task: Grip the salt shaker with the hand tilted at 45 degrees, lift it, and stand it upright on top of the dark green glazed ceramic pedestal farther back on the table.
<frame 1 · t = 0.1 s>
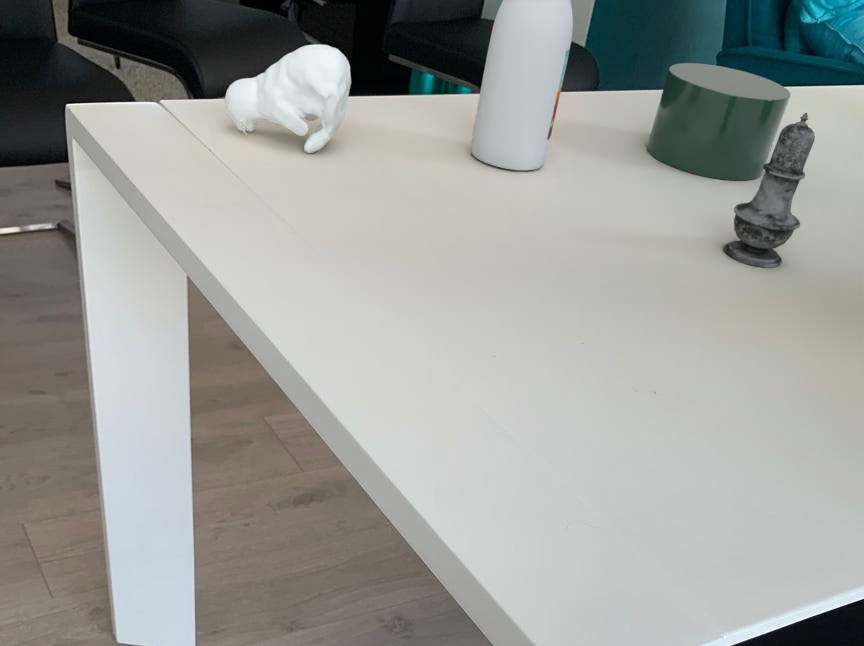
pedestal: (704, 159, 113), on the table
milk bottle: (506, 161, 104), on the table
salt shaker: (751, 257, 93), on the table
white figurine: (283, 141, 99), on the table
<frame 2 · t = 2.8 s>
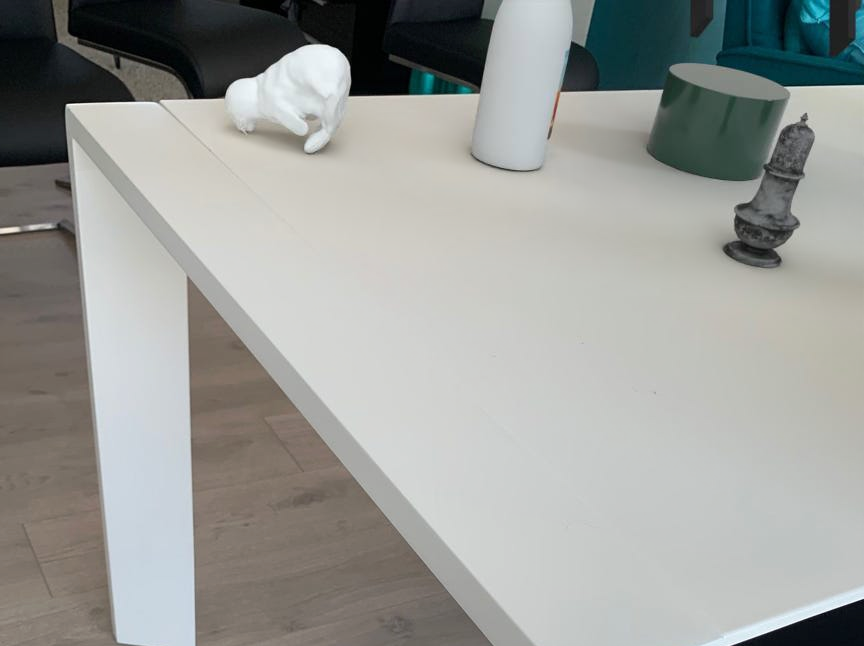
hand: (772, 38, 90), 15 cm above the table, tool tilted 45°, fingers open, 13 cm apart
nothing on the table moved.
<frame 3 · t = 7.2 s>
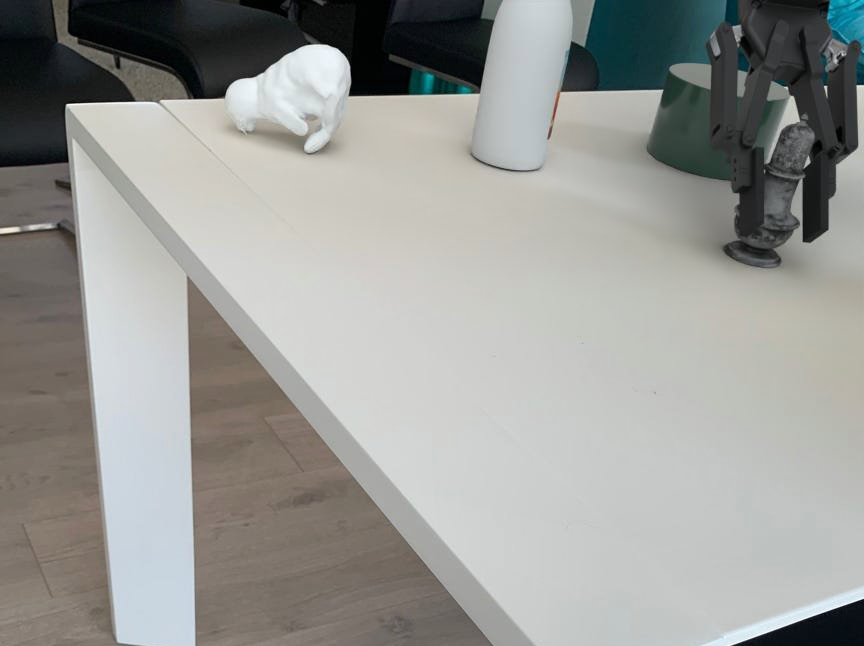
hand: (783, 232, 87), 4 cm above the table, tool tilted 45°, fingers closed on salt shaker, 5 cm apart
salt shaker: (751, 257, 93), on the table, touching gripper
everything else where it was.
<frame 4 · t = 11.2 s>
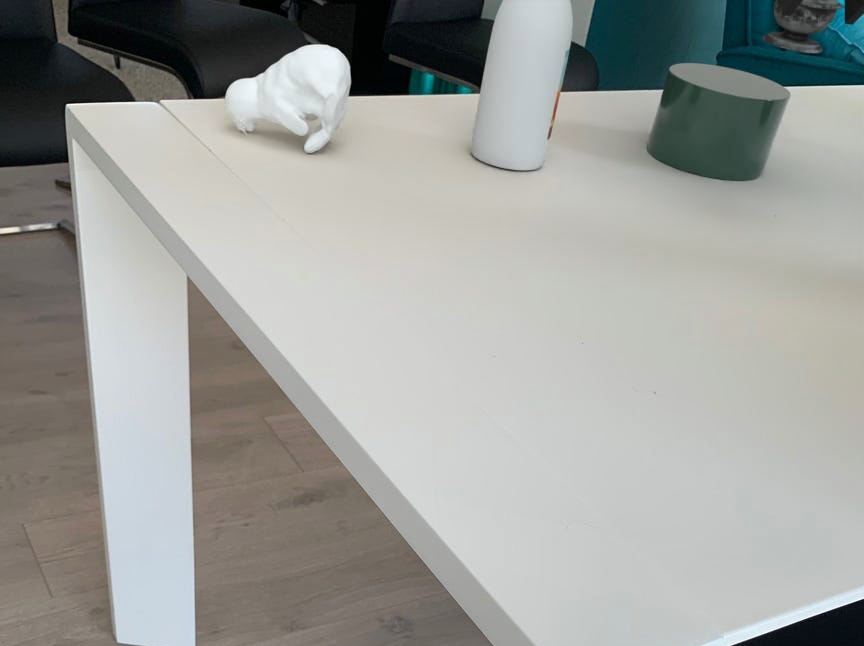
hand: (826, 9, 86), 18 cm above the table, tool tilted 45°, fingers closed on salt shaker, 5 cm apart
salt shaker: (791, 47, 91), point 15 cm above the table, touching gripper
everything else where it was.
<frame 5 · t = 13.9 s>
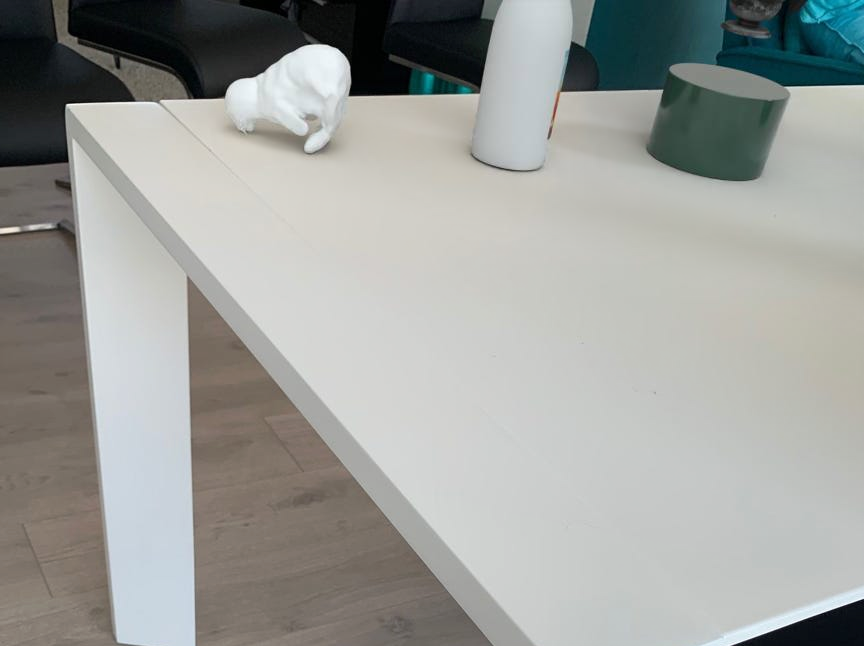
hand: (772, 0, 100), 16 cm above the table, tool tilted 45°, fingers closed on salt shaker, 5 cm apart
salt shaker: (744, 33, 105), point 12 cm above the table, touching gripper
everything else where it was.
when the fingers open (12 cm above the table, at t = 15.5 s): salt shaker stays where it is, resting on pedestal.
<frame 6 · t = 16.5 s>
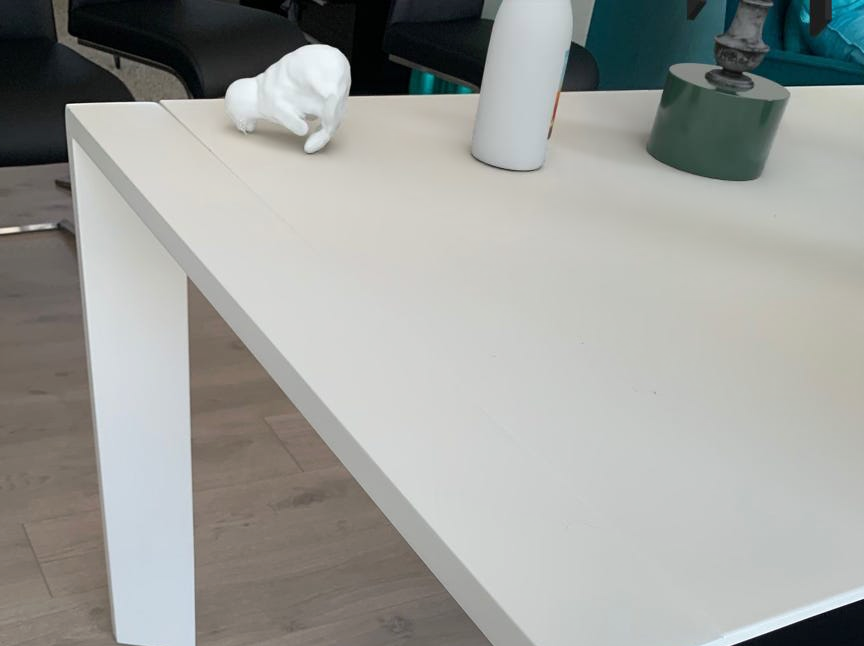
hand: (759, 20, 103), 14 cm above the table, tool tilted 45°, fingers open, 13 cm apart
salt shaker: (728, 82, 108), point 8 cm above the table, touching pedestal
everything else where it was.
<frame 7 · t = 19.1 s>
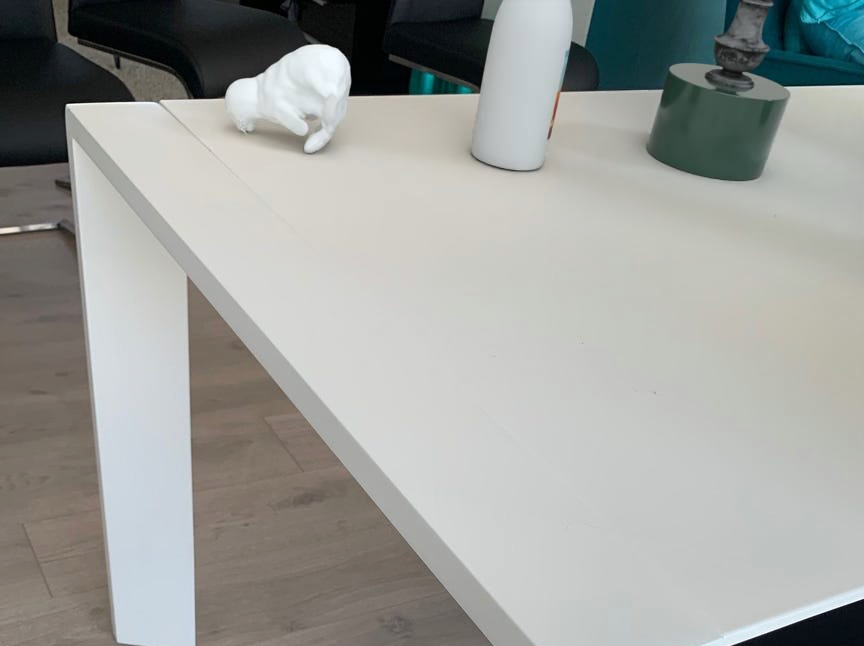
nothing on the table moved.
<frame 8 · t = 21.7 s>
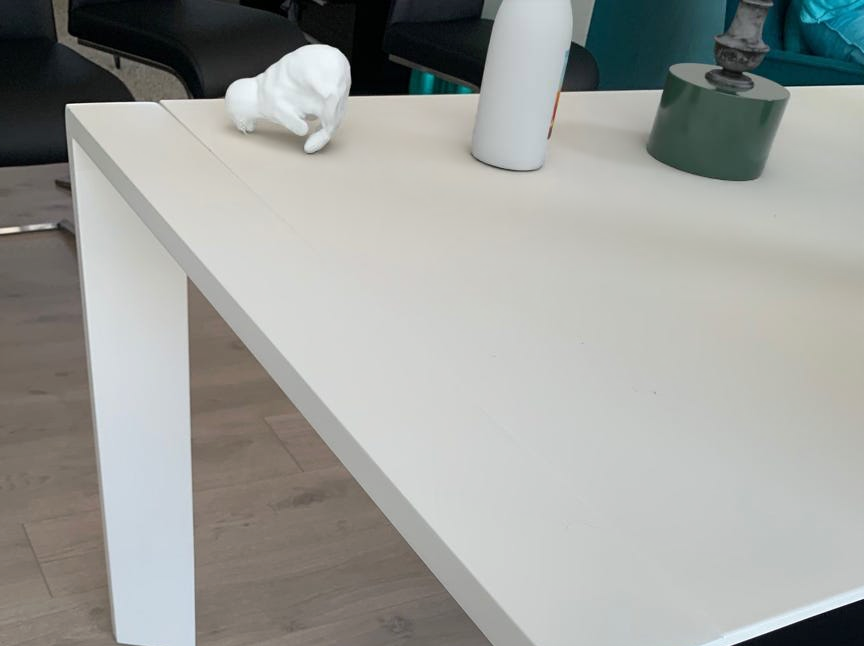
nothing on the table moved.
at the end: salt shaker inside the target area on the pedestal (0.1 cm from its centre), point 7.8 cm above the pedestal's base; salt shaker tilted 0°; the gripper is holding nothing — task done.
